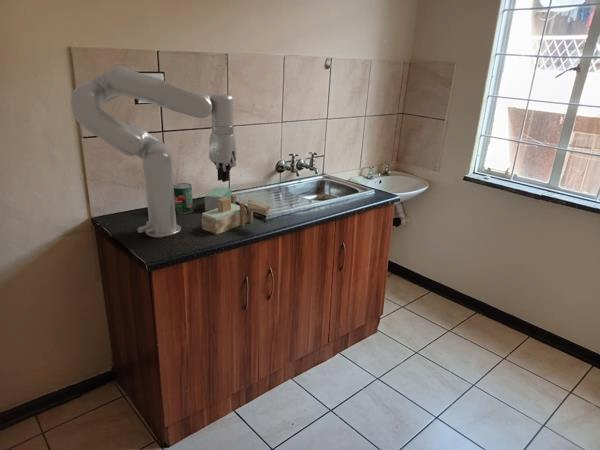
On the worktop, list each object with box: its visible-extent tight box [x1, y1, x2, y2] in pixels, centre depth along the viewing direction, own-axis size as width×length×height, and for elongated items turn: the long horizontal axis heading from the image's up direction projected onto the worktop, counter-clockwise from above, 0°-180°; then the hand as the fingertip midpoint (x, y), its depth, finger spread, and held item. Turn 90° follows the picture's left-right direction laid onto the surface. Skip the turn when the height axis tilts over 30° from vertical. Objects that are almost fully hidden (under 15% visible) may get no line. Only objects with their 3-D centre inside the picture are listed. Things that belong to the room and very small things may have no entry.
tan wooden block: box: [247, 200, 271, 216], centre depth 168 cm, size 2×9×3 cm, turn 53°
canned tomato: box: [173, 182, 194, 215], centre depth 187 cm, size 8×8×11 cm
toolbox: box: [201, 193, 254, 235], centre depth 171 cm, size 18×11×10 cm, turn 143°
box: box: [204, 187, 233, 212], centre depth 192 cm, size 7×14×8 cm, turn 168°
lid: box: [201, 197, 247, 221], centre depth 169 cm, size 16×8×6 cm, turn 143°
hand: (223, 180), depth 165 cm, fingers closed
